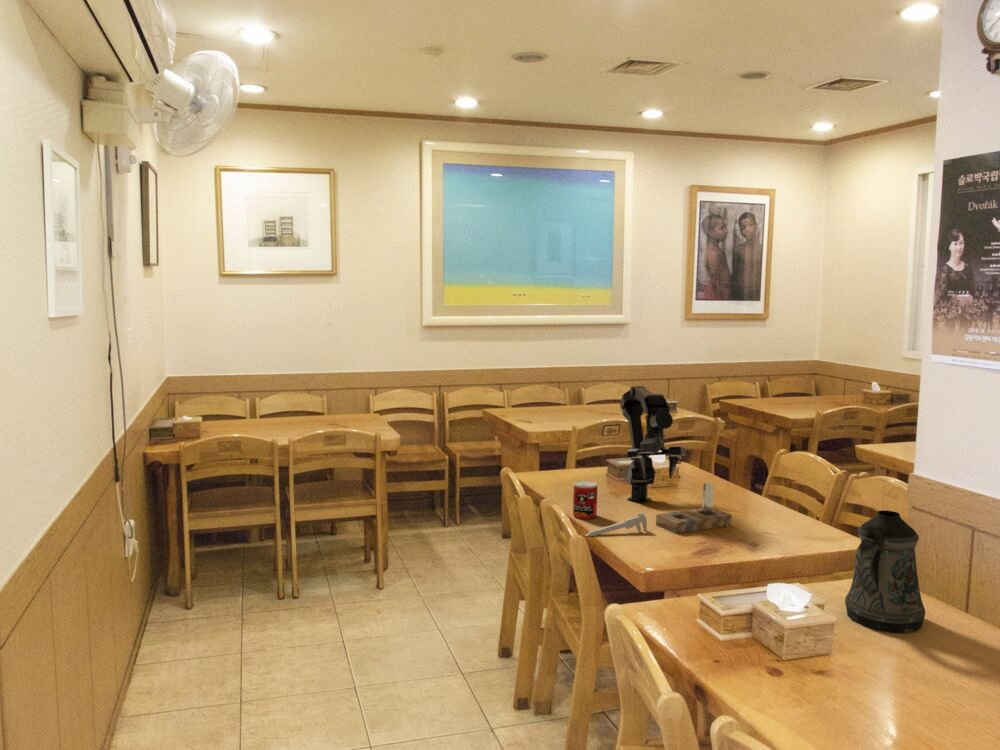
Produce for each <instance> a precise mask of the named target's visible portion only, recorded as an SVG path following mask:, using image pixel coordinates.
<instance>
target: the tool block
mask: <svg viewBox="0 0 1000 750" xmlns="http://www.w3.org/2000/svg"><path fill="white" fill-rule="evenodd" d="M655 515H656V518H655V525H656V527H659V528H662V529H663V528H664V530H667V531H669V532H670V533H673V534H674V535H679V534H686V533H691V532H692V531H693V532H699V531H705V530H704V529H706V530H711V529H710V528H713V529H716V528H715V527H719V528H722V527H721V526H726V527H728V526H727V525H731V526H732V521H733V520H732V516H733V515H732V514H730V513H727V512H724V511H722V510H720V509H716V508H714V507H713V511H712V515H708V516H706V515H703V514H702V507H701V508H700V507H699V508H694V509H688V510H680V511H672V512H665V513H657V514H655ZM693 532H692V533H693Z"/></svg>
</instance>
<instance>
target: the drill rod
mask: <svg viewBox="0 0 1000 750" xmlns="http://www.w3.org/2000/svg"><path fill="white" fill-rule="evenodd" d="M702 486H703V487H702V507H701V508H702V514H703V515H706V516H708V515H712V511H713V508H714V507H713V505H714V487H715V486H714V483H711V482H704V483H703V484H702Z"/></svg>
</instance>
